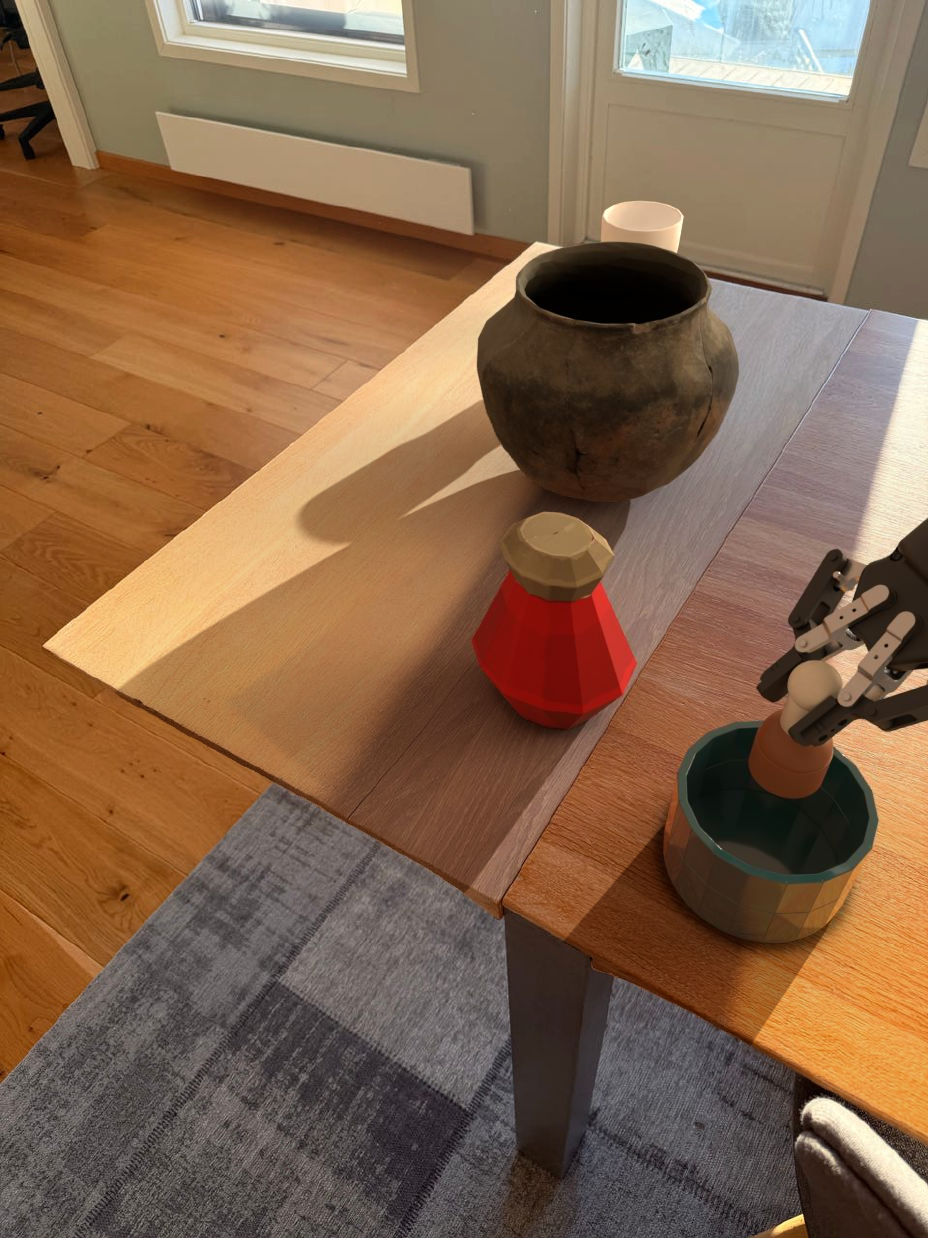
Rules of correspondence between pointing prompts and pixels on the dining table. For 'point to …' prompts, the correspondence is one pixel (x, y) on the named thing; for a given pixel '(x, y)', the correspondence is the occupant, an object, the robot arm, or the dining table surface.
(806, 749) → the drumstick
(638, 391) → the pot
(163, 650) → the dining table surface
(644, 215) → the cup
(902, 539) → the robot arm
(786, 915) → the bowl
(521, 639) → the bottle
